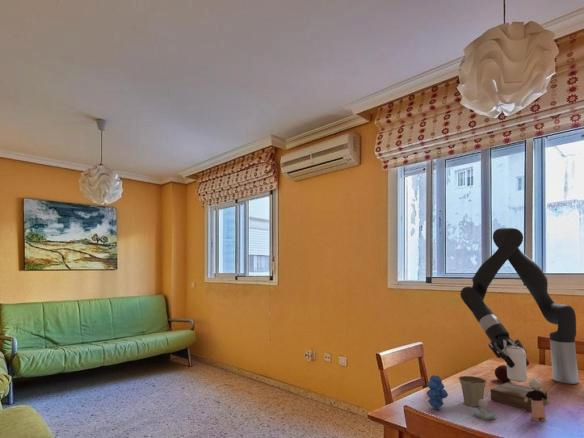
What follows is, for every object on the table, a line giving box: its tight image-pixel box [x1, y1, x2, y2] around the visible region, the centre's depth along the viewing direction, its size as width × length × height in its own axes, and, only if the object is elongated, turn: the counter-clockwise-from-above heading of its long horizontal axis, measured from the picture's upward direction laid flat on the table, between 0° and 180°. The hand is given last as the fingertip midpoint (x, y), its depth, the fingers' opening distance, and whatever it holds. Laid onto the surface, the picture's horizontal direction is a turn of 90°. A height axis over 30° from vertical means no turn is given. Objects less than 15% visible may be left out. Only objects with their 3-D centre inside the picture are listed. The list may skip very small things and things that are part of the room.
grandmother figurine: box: [524, 378, 551, 422], centre depth 127 cm, size 8×4×13 cm, turn 92°
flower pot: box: [458, 375, 488, 407], centre depth 141 cm, size 9×9×9 cm
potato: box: [494, 364, 511, 383], centre depth 169 cm, size 7×8×7 cm
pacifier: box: [471, 398, 497, 421], centre depth 129 cm, size 7×6×6 cm
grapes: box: [426, 374, 449, 411], centre depth 135 cm, size 12×7×12 cm, turn 139°
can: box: [506, 345, 528, 383], centre depth 145 cm, size 6×6×12 cm
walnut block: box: [490, 382, 548, 412], centre depth 143 cm, size 14×14×4 cm
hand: (520, 365), depth 143 cm, fingers closed on can, 6 cm apart
